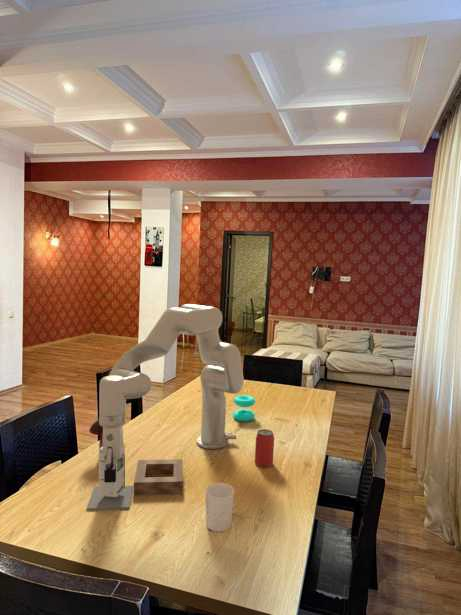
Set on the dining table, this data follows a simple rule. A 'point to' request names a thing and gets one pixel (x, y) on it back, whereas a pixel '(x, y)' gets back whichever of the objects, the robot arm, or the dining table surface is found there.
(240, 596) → the dining table surface
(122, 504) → the slate mat
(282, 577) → the dining table surface
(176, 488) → the walnut pocket holder
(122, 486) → the syrup box
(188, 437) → the dining table surface
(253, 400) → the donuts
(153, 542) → the dining table surface
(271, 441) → the beer can
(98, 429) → the decorative mushroom
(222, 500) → the white cup
